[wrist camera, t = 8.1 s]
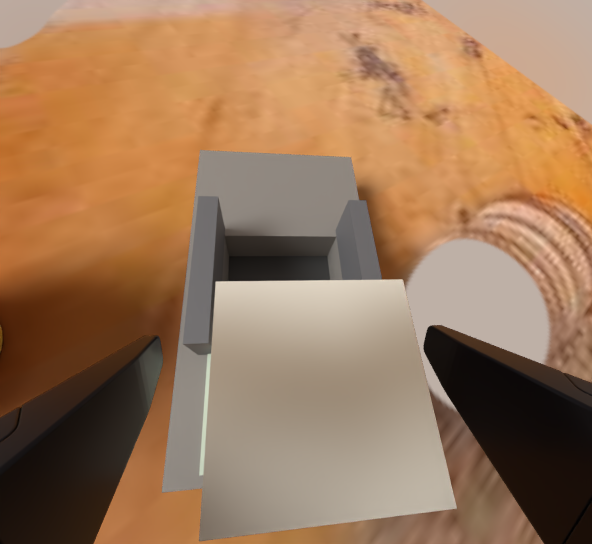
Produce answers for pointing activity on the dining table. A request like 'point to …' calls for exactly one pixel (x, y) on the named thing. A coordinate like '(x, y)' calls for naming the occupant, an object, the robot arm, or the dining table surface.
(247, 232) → the tunnel deck
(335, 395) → the cream block
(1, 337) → the plant pot
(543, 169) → the dining table surface
